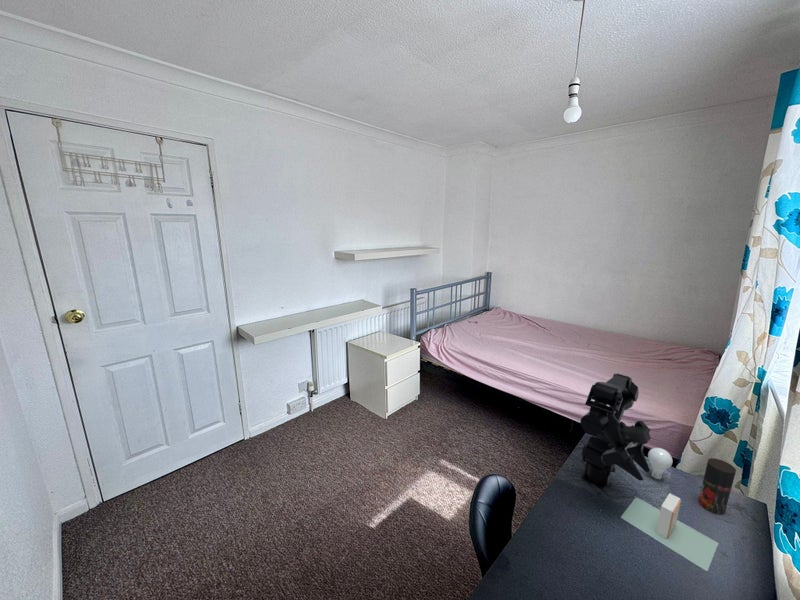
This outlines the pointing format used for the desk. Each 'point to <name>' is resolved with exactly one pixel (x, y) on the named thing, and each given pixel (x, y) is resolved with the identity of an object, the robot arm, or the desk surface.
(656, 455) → the lightbulb
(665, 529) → the block
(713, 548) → the mat
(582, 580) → the desk surface
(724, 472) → the deodorant
